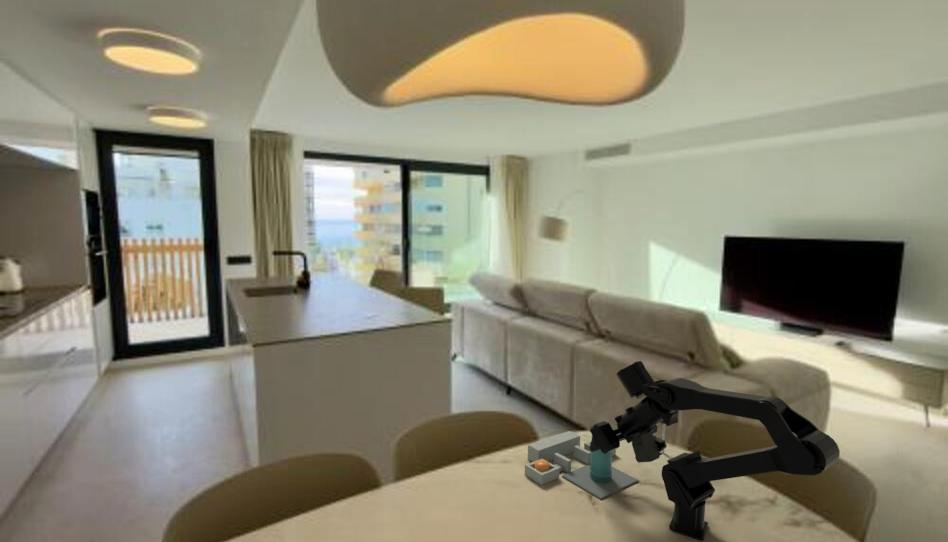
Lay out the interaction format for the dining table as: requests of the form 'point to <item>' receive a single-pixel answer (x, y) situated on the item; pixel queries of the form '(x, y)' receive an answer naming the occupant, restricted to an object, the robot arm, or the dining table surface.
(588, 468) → the mat
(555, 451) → the housing
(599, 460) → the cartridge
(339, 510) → the dining table surface
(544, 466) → the left plunger
